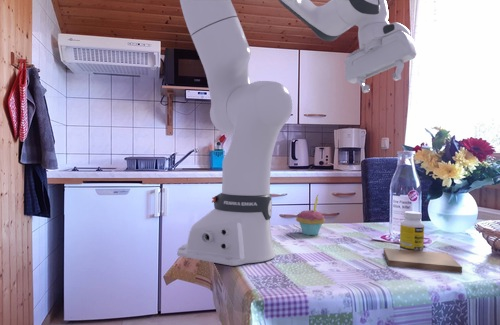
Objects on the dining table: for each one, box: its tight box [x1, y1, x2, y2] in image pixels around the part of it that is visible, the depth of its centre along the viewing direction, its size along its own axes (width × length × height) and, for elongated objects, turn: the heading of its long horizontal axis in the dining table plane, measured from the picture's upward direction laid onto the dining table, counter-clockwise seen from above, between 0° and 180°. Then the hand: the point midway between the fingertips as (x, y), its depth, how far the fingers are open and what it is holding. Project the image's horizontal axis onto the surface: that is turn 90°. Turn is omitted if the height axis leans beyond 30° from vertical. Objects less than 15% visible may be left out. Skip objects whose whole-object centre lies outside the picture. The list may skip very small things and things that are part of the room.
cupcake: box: [295, 194, 326, 236], centre depth 107 cm, size 9×8×12 cm
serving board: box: [383, 247, 463, 273], centre depth 79 cm, size 14×11×1 cm
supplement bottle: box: [399, 210, 425, 251], centre depth 89 cm, size 5×5×10 cm
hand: (381, 86), depth 97 cm, fingers open, 8 cm apart
